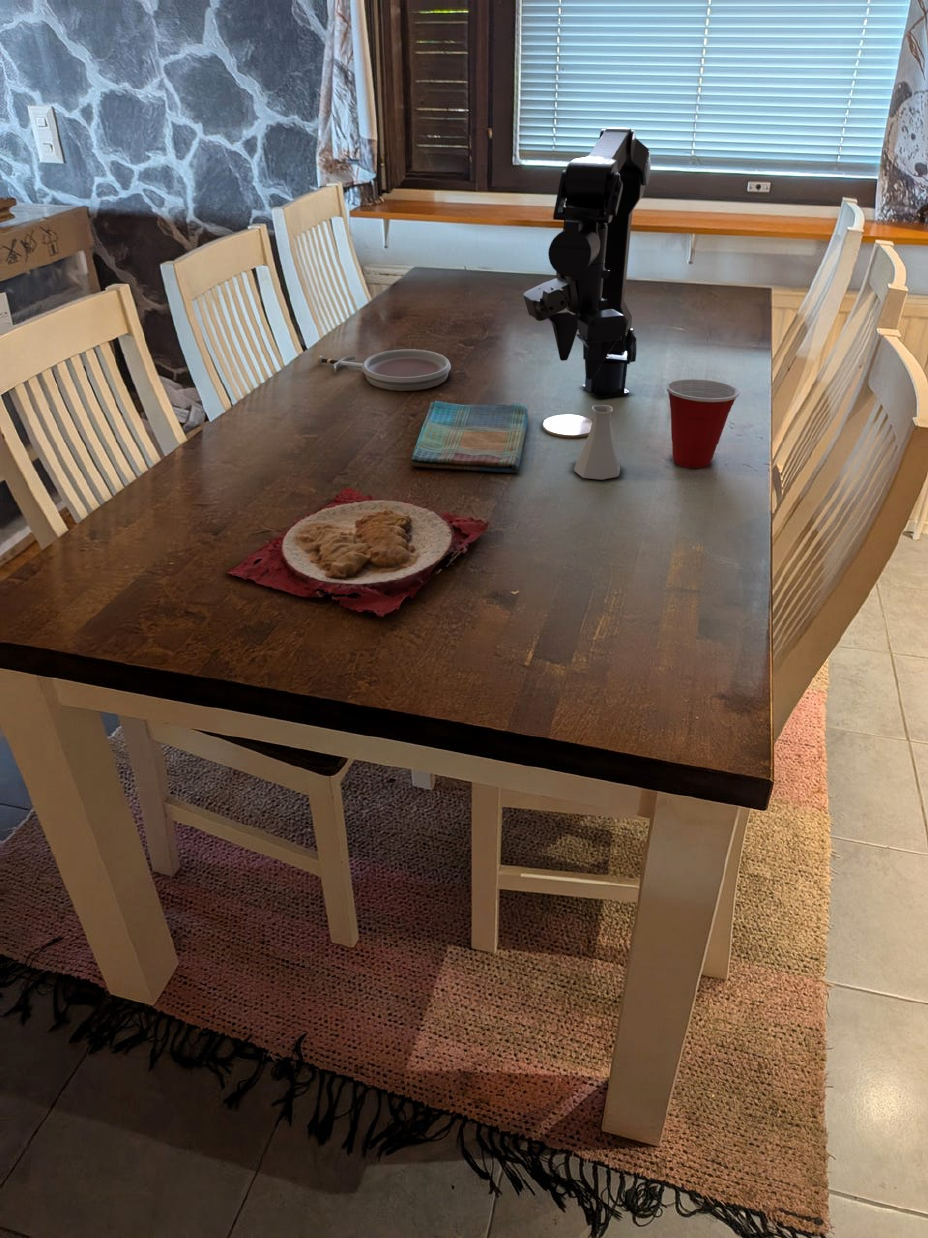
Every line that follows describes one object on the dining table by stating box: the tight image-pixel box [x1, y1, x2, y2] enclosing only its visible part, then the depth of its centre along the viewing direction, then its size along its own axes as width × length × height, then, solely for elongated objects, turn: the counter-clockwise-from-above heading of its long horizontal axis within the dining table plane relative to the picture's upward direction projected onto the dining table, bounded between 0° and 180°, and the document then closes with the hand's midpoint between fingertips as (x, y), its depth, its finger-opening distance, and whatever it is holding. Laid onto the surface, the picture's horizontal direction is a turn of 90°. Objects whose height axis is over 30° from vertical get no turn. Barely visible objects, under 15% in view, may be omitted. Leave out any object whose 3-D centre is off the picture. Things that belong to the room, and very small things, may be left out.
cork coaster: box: [542, 414, 593, 439], centre depth 153 cm, size 9×9×1 cm
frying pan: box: [315, 348, 452, 392], centre depth 175 cm, size 17×3×28 cm
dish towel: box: [410, 400, 529, 474], centre depth 147 cm, size 17×23×2 cm
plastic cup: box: [665, 378, 741, 469], centre depth 139 cm, size 11×11×12 cm
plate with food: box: [226, 488, 490, 618], centre depth 117 cm, size 24×26×3 cm
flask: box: [573, 404, 621, 481], centre depth 136 cm, size 7×7×10 cm
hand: (576, 369), depth 137 cm, fingers open, 9 cm apart
